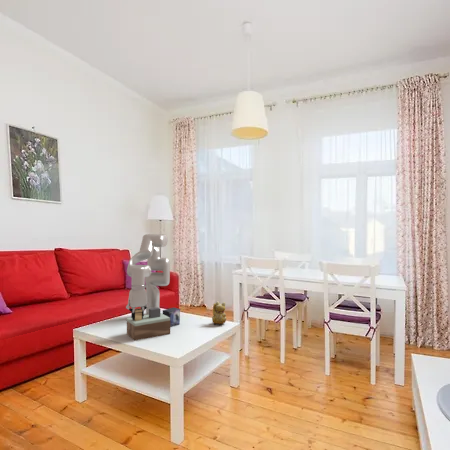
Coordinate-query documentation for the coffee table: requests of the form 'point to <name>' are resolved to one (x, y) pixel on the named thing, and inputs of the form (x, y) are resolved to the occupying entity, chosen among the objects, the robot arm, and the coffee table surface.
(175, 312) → the small box
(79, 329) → the coffee table surface
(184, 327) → the coffee table surface
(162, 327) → the open brown wooden box
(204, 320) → the coffee table surface
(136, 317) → the wooden block
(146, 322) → the lid
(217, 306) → the decorative figurine
